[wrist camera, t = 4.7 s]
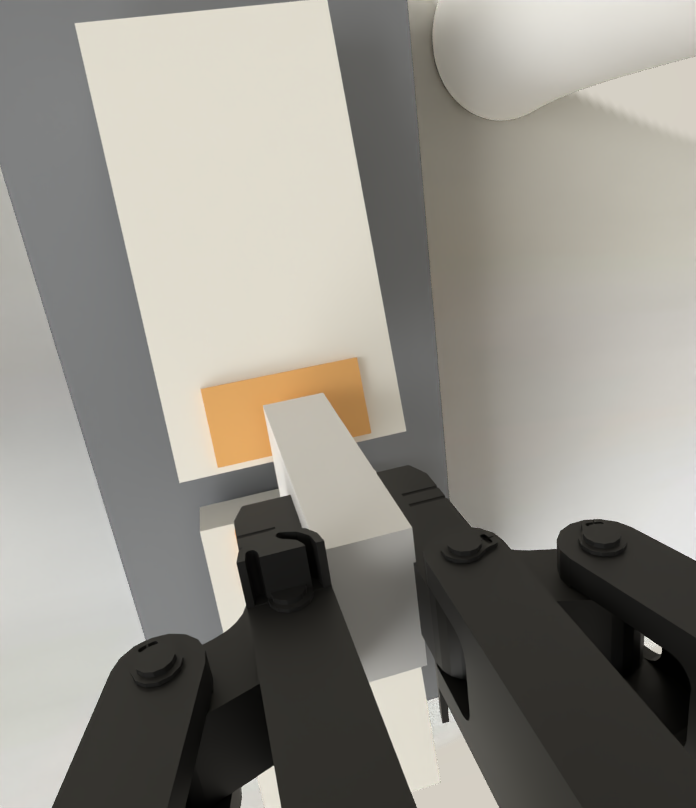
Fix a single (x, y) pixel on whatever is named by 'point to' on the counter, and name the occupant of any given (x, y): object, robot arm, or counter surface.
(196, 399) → the plate
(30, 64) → the switch unit
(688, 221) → the counter surface
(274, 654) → the robot arm
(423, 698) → the rocker
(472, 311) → the counter surface
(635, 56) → the cosmetic bottle
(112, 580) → the counter surface
